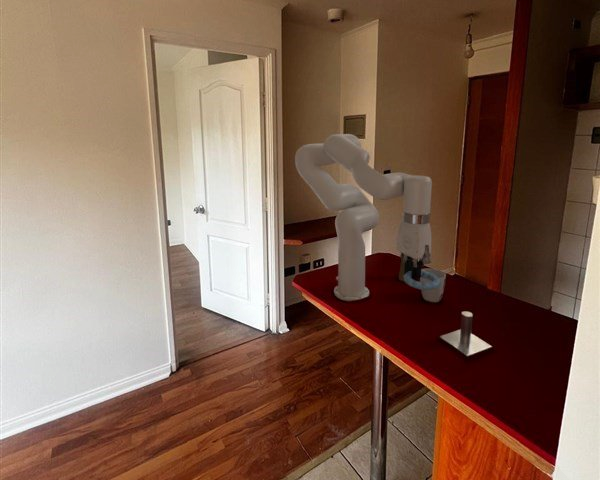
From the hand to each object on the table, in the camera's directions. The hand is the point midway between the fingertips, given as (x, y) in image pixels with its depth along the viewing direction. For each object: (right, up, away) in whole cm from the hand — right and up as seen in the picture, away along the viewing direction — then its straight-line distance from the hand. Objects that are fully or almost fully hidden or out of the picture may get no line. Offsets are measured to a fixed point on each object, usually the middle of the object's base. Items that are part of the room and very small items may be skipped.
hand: (412, 276), depth 98 cm
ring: (+1, 0, -4) cm, 4 cm away
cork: (+8, -9, +30) cm, 32 cm away
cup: (+11, -12, +13) cm, 21 cm away
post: (+10, -16, -11) cm, 22 cm away
